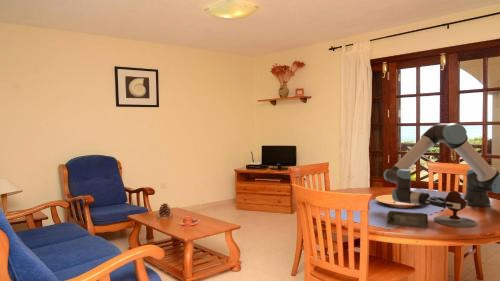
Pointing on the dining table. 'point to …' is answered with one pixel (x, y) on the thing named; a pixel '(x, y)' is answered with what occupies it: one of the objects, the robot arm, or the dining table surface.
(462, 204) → the ice cream bowl
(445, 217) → the disc
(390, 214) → the dark grey rectangular block
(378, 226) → the dining table surface
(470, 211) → the dining table surface
